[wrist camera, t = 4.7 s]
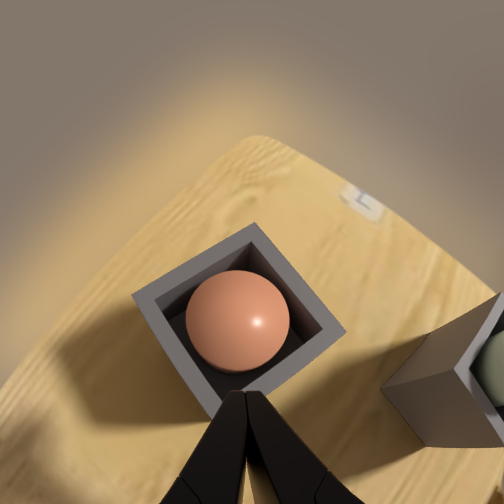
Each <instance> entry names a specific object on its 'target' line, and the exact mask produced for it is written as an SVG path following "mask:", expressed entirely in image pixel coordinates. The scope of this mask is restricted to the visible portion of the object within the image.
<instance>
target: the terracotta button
mask: <svg viewBox="0 0 504 504" xmlns="http://www.w3.org/2000/svg"><path fill="white" fill-rule="evenodd" d="M186 327H187V331H188V335H189V337H190V340H191V342H192V344H193V346H194V348H195V349H196V351H197V353H198V355H199V356H200V357H201V359H202V360H203V361H204V362H205V363H206V364H207V365H209V366H210V367H211V368H213V369H215V370H217V371H219V372H222V373H225V374H230V375H243V374H248V373H252V372H254V371H256V370H258V369H260V368H262V367H263V366H264V365H266V364H267V363H268V362H269V361H270V360H271V359H272V357H273V356H274V355H275V354H276V353H277V352H278V350H279V349H280V348H281V346H282V345H283V343H284V341H285V339H286V336H287V333H288V329H289V312H288V307H287V304H286V302H285V300H284V298H283V296H282V294H281V293H280V291H279V290H278V289H277V288H276V287H275V286H274V285H273V284H272V283H271V282H270V281H268V280H267V279H265V278H264V277H262V276H260V275H257V274H255V273H252V272H247V271H226V272H222V273H219V274H216V275H214V276H212V277H210V278H209V279H207V280H206V281H204V282H203V283H202V284H201V285H200V286H199V287H198V288H197V289H196V290H195V292H194V293H193V295H192V296H191V299H190V301H189V303H188V307H187V311H186Z"/></svg>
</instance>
